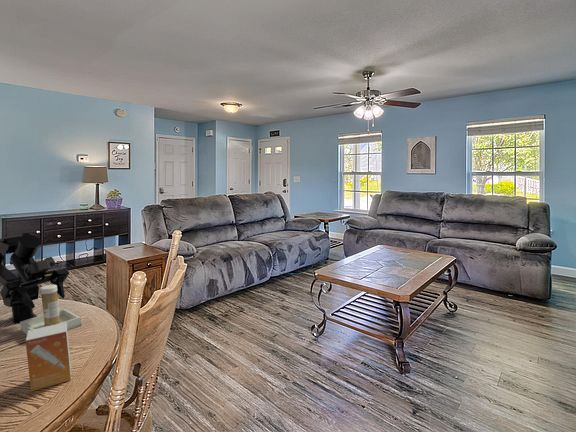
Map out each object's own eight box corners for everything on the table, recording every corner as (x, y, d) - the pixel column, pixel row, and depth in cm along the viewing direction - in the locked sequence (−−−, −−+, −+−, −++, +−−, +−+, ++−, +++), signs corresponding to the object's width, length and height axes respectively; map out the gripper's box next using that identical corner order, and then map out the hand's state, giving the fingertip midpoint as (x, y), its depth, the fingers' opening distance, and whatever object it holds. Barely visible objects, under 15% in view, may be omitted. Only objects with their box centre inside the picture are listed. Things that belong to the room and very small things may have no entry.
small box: (30, 392, 78) (24, 340, 76) (33, 379, 83) (27, 329, 81) (71, 380, 82) (66, 331, 81) (71, 368, 88) (66, 321, 86)
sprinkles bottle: (42, 325, 111) (38, 286, 109) (58, 320, 114) (54, 283, 113) (46, 329, 108) (42, 289, 106) (62, 324, 111) (58, 285, 110)
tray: (21, 330, 109) (20, 321, 109) (65, 316, 120) (64, 308, 119) (35, 341, 102) (34, 332, 101) (81, 325, 112) (80, 317, 112)
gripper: (0, 258, 101) (25, 298, 98) (63, 245, 118) (86, 279, 115) (-10, 279, 106) (13, 318, 102) (52, 264, 122) (74, 297, 119)
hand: (49, 302), depth 110 cm, fingers open, 9 cm apart
